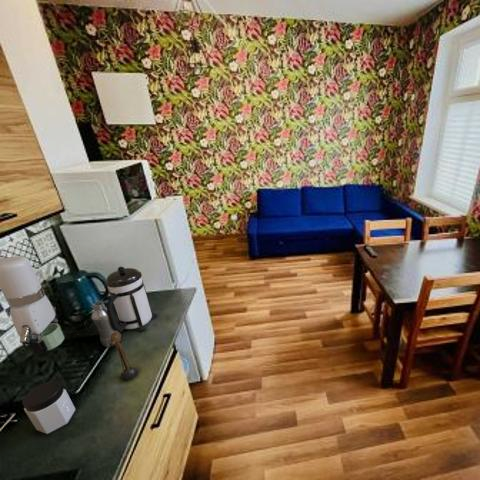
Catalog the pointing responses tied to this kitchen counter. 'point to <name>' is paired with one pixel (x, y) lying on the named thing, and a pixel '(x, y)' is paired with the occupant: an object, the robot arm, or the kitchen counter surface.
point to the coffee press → (128, 299)
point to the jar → (48, 406)
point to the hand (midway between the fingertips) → (48, 342)
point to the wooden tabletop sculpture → (123, 358)
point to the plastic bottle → (103, 323)
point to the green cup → (51, 335)
